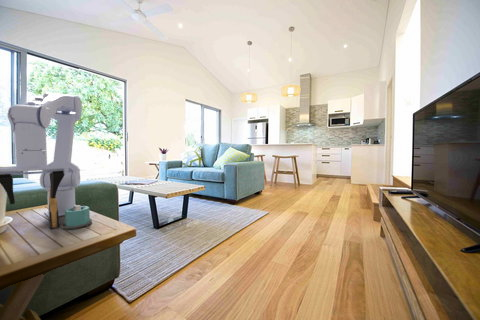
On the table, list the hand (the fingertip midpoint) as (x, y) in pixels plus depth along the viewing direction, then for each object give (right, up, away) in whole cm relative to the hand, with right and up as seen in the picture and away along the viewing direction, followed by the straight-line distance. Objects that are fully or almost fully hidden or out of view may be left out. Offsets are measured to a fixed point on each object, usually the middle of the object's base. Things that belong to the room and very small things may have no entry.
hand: (33, 200), depth 53 cm
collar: (+6, -8, +7) cm, 13 cm away
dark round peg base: (+6, -9, +7) cm, 13 cm away
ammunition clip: (-2, -9, +8) cm, 13 cm away
